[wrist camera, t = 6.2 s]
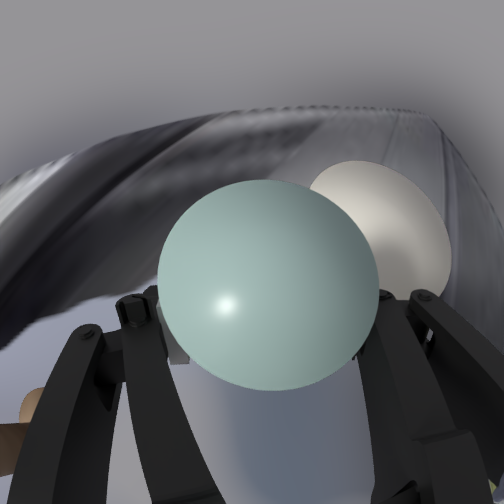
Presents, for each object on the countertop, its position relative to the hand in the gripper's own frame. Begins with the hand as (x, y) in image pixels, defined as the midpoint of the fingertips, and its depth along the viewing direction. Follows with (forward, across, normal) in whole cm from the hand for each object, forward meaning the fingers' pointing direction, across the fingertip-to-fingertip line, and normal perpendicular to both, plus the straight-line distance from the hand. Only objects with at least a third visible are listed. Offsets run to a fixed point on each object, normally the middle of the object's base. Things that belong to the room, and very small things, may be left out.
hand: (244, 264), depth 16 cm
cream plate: (+5, +13, 0) cm, 14 cm away
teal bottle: (0, 0, -5) cm, 5 cm away
